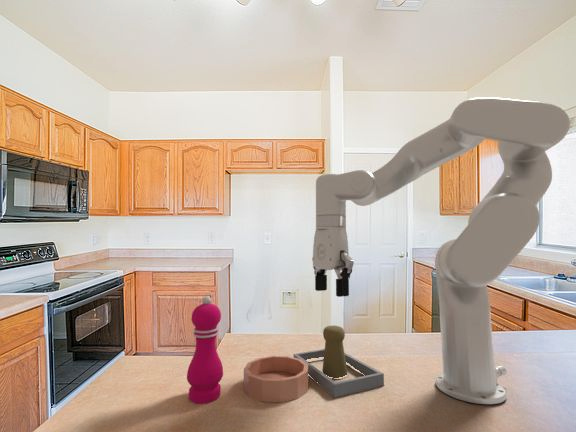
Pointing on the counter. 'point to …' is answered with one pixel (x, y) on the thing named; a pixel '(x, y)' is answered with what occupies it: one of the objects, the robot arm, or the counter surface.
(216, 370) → the pepper mill
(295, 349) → the counter surface
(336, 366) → the olive pestle
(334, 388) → the grey rectangular frame
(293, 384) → the bowl
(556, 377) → the counter surface
